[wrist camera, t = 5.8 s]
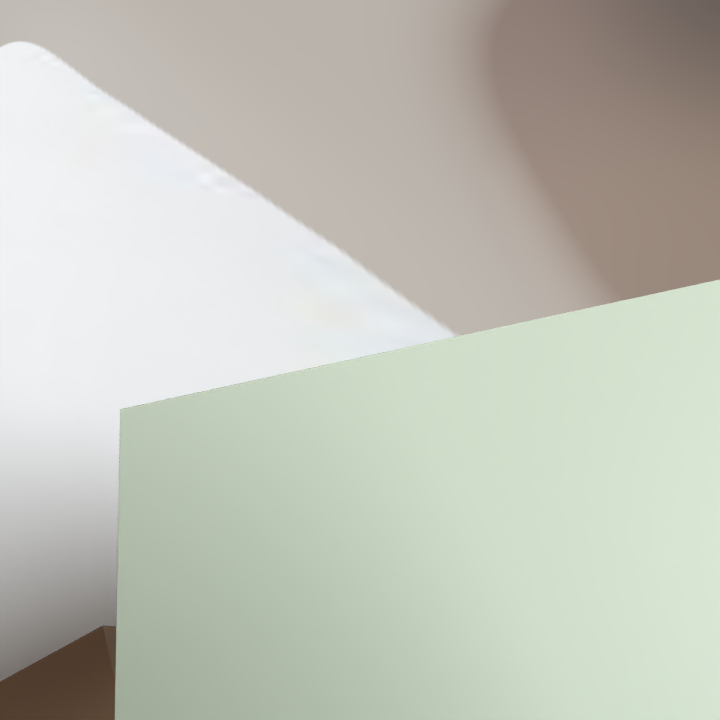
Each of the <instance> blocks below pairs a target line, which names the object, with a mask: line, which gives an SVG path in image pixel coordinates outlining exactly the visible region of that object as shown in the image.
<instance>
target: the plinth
mask: <svg viewBox="0 0 720 720" xmlns="http://www.w3.org/2000/svg"><path fill="white" fill-rule="evenodd" d="M115 678H116V627H113V626H101V627H99V628H98V629H96V630H94V631H92V632H90V633H89V634H87V635H85V636H83V637H81V638H79V639H78V640H76V641H74V642H72V643H70V644H69V645H67V646H65V647H63V648H61V649H59V650H58V651H56V652H54V653H52V654H50V655H48V656H47V657H45V658H43V659H41V660H39V661H38V662H36V663H34V664H32V665H30V666H28V667H27V668H25V669H23V670H21V671H19V672H18V673H16V674H14V675H12V676H10V677H8V678H7V679H5V680H3V681H1V682H0V720H115Z"/></svg>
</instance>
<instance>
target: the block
mask: <svg viewBox="0 0 720 720" xmlns="http://www.w3.org/2000/svg"><path fill="white" fill-rule="evenodd" d="M115 720H720V280H716V281H712V282H707V283H702V284H698V285H693V286H689V287H684V288H679V289H675V290H670V291H665V292H661V293H656V294H651V295H647V296H642V297H638V298H634V299H629V300H624V301H619V302H615V303H610V304H605V305H601V306H596V307H591V308H587V309H582V310H577V311H573V312H568V313H564V314H559V315H555V316H550V317H545V318H541V319H536V320H531V321H526V322H522V323H517V324H513V325H508V326H503V327H499V328H495V329H489V330H485V331H480V332H476V333H471V334H467V335H462V336H457V337H452V338H448V339H443V340H439V341H434V342H429V343H425V344H420V345H415V346H411V347H406V348H402V349H397V350H392V351H388V352H383V353H378V354H374V355H369V356H364V357H360V358H355V359H351V360H346V361H341V362H337V363H332V364H327V365H323V366H318V367H314V368H309V369H304V370H300V371H295V372H290V373H286V374H281V375H277V376H272V377H267V378H263V379H258V380H253V381H249V382H244V383H240V384H235V385H230V386H226V387H221V388H216V389H212V390H207V391H202V392H198V393H193V394H189V395H184V396H179V397H175V398H170V399H165V400H161V401H156V402H152V403H147V404H142V405H138V406H133V407H128V408H124V409H120V449H119V506H118V564H117V621H116V678H115Z"/></svg>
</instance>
